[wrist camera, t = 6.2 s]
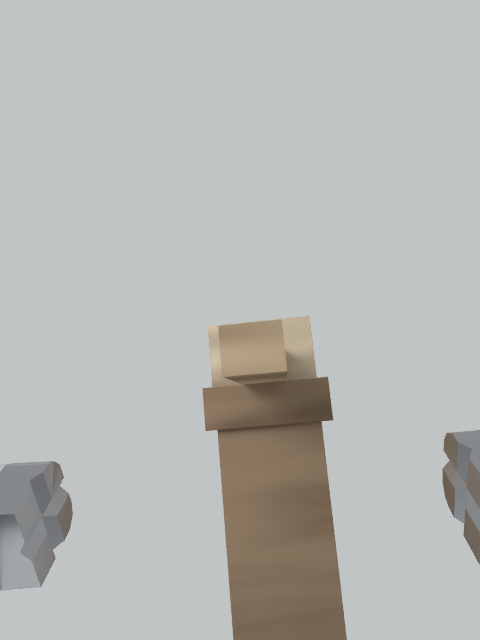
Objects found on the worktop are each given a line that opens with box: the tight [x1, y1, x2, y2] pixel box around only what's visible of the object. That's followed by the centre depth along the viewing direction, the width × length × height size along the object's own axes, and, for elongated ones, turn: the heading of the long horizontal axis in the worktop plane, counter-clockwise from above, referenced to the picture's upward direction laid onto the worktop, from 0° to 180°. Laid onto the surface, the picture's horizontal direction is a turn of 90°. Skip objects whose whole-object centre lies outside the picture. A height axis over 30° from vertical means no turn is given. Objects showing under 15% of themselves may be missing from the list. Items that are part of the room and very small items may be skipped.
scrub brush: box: [208, 316, 317, 387], centre depth 22 cm, size 15×5×3 cm, turn 175°
